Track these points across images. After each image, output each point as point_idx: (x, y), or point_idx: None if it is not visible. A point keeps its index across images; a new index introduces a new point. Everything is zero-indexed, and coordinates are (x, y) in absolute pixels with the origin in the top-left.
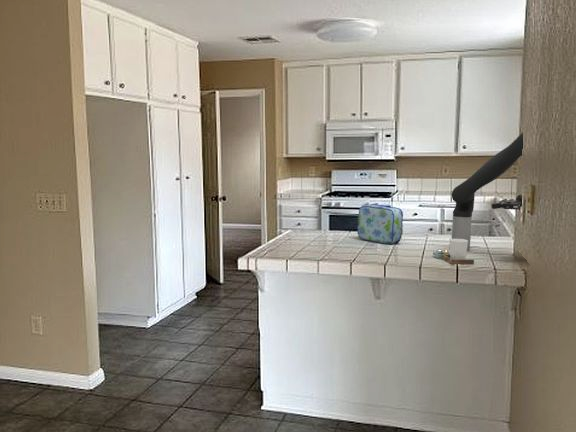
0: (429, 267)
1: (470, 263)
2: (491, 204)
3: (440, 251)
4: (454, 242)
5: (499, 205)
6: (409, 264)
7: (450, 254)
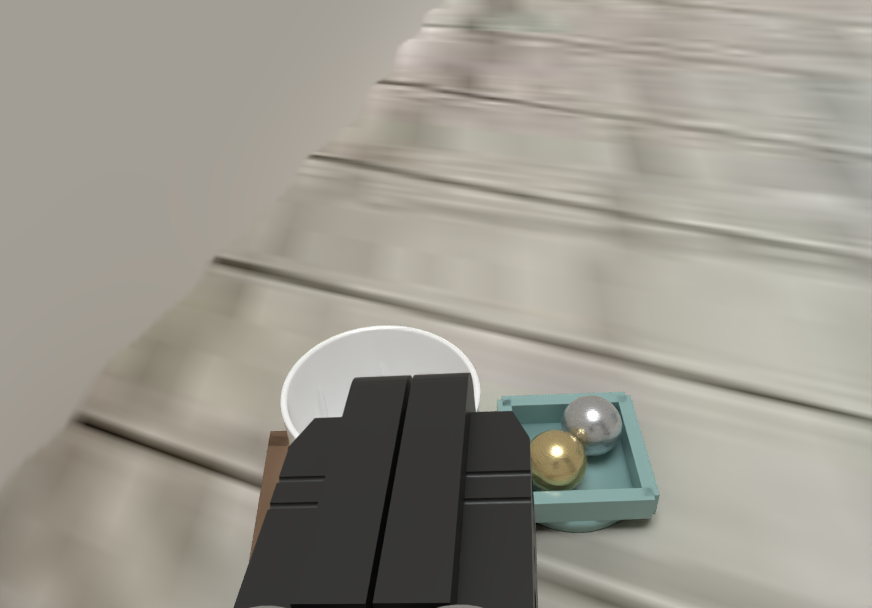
0: (230, 306)
1: None
2: (467, 378)
3: (566, 414)
4: (328, 348)
5: (257, 584)
6: (338, 242)
7: None
